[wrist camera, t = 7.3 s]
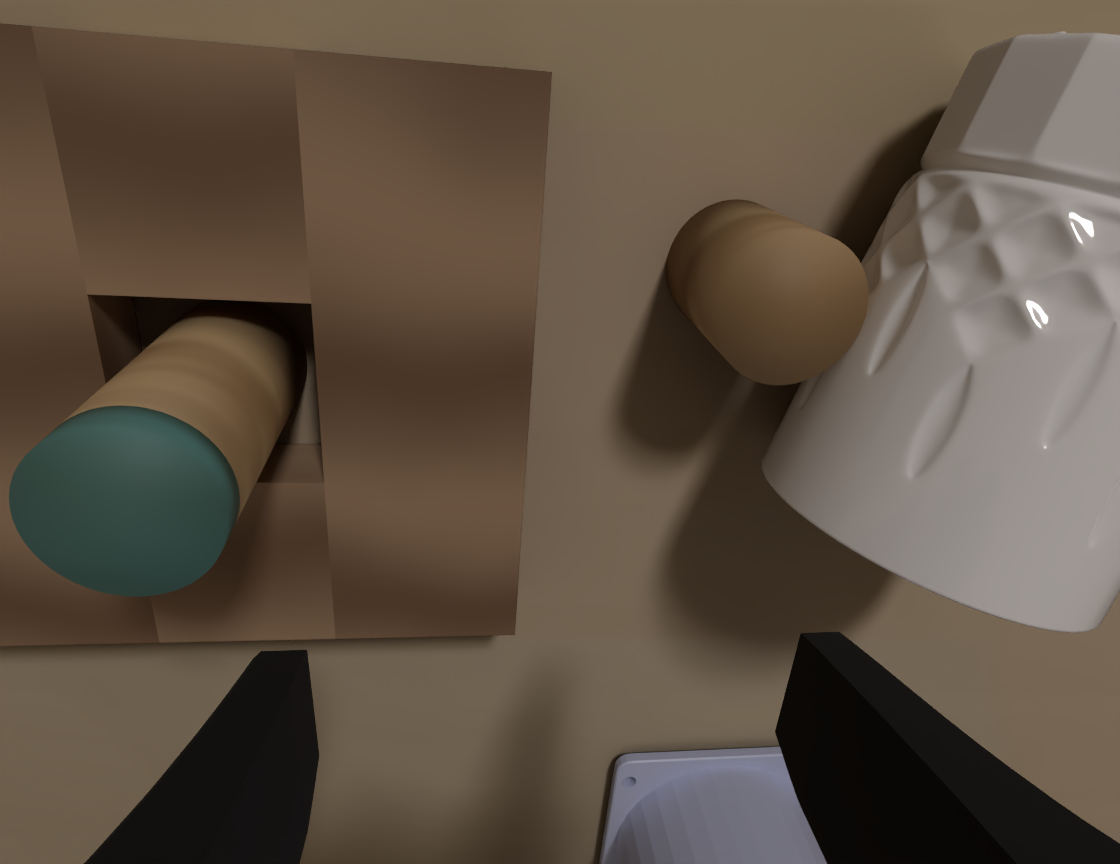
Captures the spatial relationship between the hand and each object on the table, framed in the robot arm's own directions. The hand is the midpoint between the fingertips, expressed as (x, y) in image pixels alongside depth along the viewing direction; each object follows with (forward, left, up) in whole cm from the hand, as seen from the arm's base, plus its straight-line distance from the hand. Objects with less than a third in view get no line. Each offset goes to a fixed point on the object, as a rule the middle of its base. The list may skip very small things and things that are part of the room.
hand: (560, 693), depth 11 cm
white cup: (+9, -12, -6) cm, 16 cm away
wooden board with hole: (+1, +7, -10) cm, 12 cm away
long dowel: (+1, +7, -10) cm, 12 cm away
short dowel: (+4, -5, -10) cm, 12 cm away
